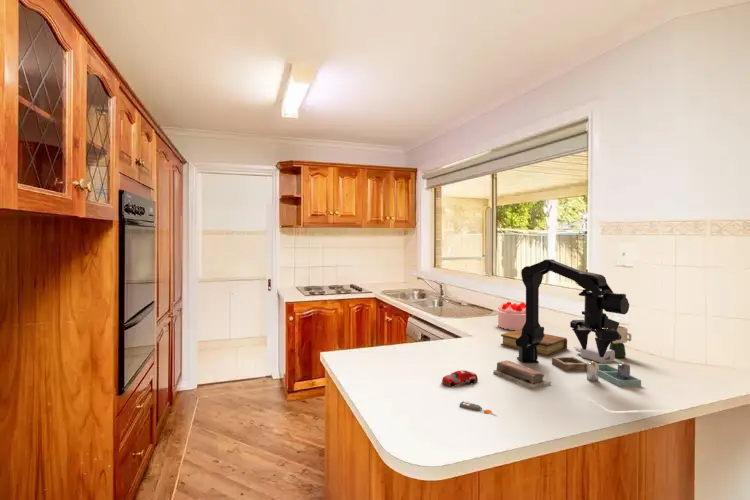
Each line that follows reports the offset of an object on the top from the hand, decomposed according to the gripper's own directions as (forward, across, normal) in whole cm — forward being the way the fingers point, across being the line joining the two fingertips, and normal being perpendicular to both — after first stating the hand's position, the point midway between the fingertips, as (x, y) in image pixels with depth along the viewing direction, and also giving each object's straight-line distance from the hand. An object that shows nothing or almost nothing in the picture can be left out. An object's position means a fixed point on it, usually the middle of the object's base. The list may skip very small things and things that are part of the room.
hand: (592, 353), depth 133 cm
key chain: (+11, -20, +48) cm, 53 cm away
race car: (+11, +2, +48) cm, 49 cm away
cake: (+11, +84, -11) cm, 85 cm away
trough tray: (+10, +2, -9) cm, 14 cm away
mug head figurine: (+10, +27, -30) cm, 42 cm away
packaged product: (+11, +4, +25) cm, 27 cm away
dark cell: (+10, -4, -9) cm, 14 cm away
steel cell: (+10, 0, 0) cm, 10 cm away
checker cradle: (+10, +14, 0) cm, 17 cm away
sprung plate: (+10, +14, 0) cm, 17 cm away
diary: (+11, +44, -1) cm, 45 cm away
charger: (+11, +27, -18) cm, 35 cm away
